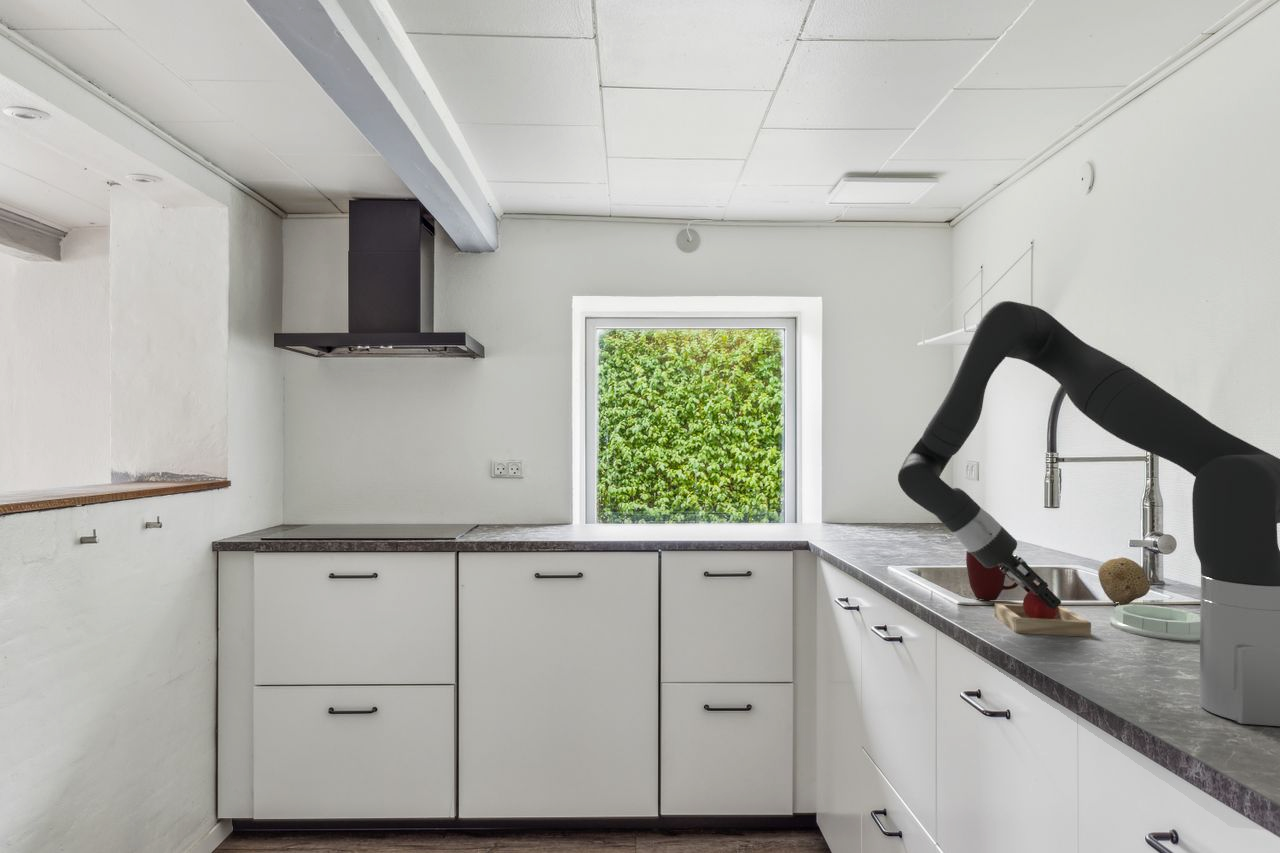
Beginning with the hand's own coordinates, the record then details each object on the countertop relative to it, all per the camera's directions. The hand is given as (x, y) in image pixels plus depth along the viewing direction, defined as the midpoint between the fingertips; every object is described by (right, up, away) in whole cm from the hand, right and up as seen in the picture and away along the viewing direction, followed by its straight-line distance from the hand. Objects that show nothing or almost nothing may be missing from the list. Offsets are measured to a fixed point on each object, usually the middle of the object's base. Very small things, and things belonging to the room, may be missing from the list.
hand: (1047, 600), depth 140 cm
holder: (-1, -5, 0) cm, 5 cm away
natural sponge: (+26, -5, +18) cm, 32 cm away
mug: (0, -5, +22) cm, 23 cm away
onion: (-1, -5, 0) cm, 5 cm away
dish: (+20, -5, -1) cm, 20 cm away
